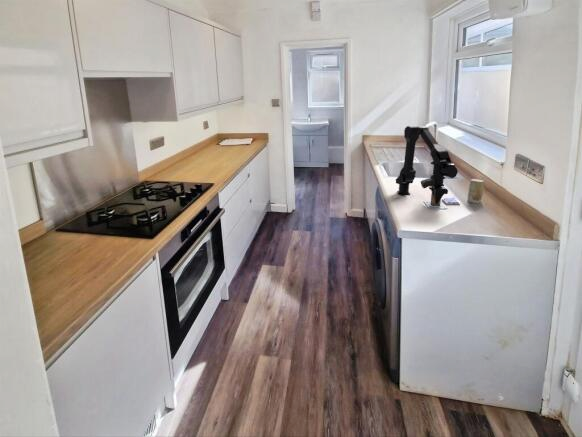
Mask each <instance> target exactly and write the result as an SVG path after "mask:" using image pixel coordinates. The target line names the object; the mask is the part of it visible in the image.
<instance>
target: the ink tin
mask: <svg viewBox="0 0 582 437" xmlns="http://www.w3.org/2000/svg"><path fill="white" fill-rule="evenodd" d="M441 201H442V203H444V204H445V206H446V205H447V206H451V205H452V206H457V205H458V206H459V205H461V202H460V201H459V200H458V199H456V198H455V197H442V198H441Z"/></svg>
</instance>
